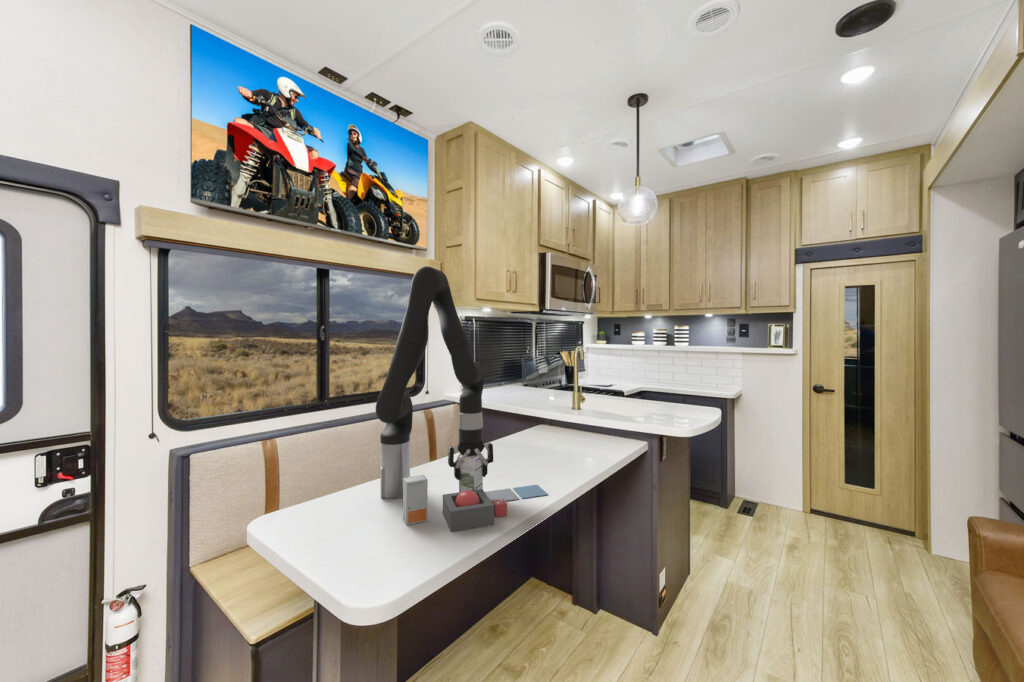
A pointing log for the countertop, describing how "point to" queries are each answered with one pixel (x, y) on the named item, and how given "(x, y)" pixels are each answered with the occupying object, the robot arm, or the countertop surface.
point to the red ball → (467, 499)
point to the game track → (521, 491)
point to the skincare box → (415, 499)
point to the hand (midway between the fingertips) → (471, 477)
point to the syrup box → (471, 474)
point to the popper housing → (472, 512)
